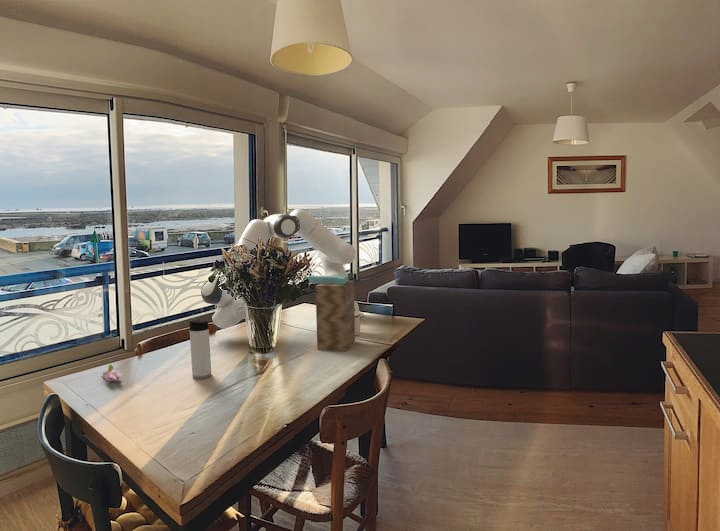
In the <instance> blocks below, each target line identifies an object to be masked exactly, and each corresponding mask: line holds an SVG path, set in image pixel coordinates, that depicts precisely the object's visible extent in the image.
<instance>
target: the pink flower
mask: <svg viewBox="0 0 720 531" xmlns="http://www.w3.org/2000/svg"><path fill="white" fill-rule="evenodd" d="M123 375H124V374H123V373H121V371H118V370H114V366H113V364H112V363H110V364H109V365H108V370H105V371H102V375H100V378H104V377H105V378H104V381H107V382H111V381H115V382H117V381H118V380H122V379H123Z"/></svg>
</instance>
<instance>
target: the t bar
mask: <svg viewBox="0 0 720 531" xmlns="http://www.w3.org/2000/svg"><path fill="white" fill-rule="evenodd" d="M305 276H306V277H304V278H303V280H305V279H308V280H309V283H308V284H320V283H326V284H337V285H344V284H346V283H347V282H348V280H349V275H348V276H344V275H342V276H325V275H309V276H310V277H307V276H308V275H305Z"/></svg>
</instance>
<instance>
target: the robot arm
mask: <svg viewBox="0 0 720 531" xmlns="http://www.w3.org/2000/svg"><path fill="white" fill-rule="evenodd" d="M295 234H297V235H298V236H299V237H300V238H301V239H302V240H303V241H305V242H306V243H307V244H308V245H309V246H311V248H314V250H316V251H317V252H316V253H317V256H318V257H319V258H320V261H321V264H322V267H323V272H324V276H342V275H344V276H348V277H349V275H348V273H347V272H346V270H345V267H344V266H345V265H348V264H351V263H353V262H354V261H355V259H356V257H357V253H356V249H355V246H353V245H352V244H350V243H349V242H347V241H345V240H344V239H343V238H341V237H340V236H338V235H337V234H335V233H334V232H332V231H330V230H329V229H328V228H327V227H325V226H324V225H323V224H322V223H321V222H320V221H318V219H316V218H315V217H314V216H313V215H312V214H310V213H309V212H307V211H305V210H304V209H301V208H296V209H293V210H292V211H291V212H290V213H289V214H285V213H271V214H269V215H266V216H265V217H264V218H262V219H259V218H256V219H252V220H250V222H249V223H248V225H247V226H246V227H245V229H244V231H243V232H242V234H241V236H240V238H239V240H238V242H237V243H236V244H235V246H236V245H238V246H239V245H242V244H245V245H246V246H247V247H248V248H249V249H250V250H251V249H254V248H256V246H255V245H257V244H258V238H259V237H261V238H262V242H263V243H264V244H265V243H266V244H267V242H268V241H269V239H271V238H275V237H276V238H275V239H289V238H291V237H293V236H294V235H295ZM266 244H265V245H266ZM230 251H231V248H229V249H228V250H227V252H230ZM221 261H223V258H222V259H221V260H220V262H221ZM217 274H218V271H217V270H215V269H214V271H213V273H212V274H211V276H212V275H217ZM219 278H220V276H217V277H216V279H215V282H214V283H210V282H209V281H208V280H206V281H205V282H204V283H203V285H202V288H201V290H200V293H201V298H202V301H203V302H205V303H206V304H209V305H213V306H216V309H215V311H214V314H212V316H211V319H212V323H213V324H214V325H215V326H216V327H218V328H220V329H223V330H225V329H228V328H231V327H233V326H234V325H236V324H238V323H239V322H240V321H241V320H245V319H247V317H246V313H245V306H244V301H243V300H242V299H237V300H235V299H234V298H233V297H232V296H231V295H230V294H227V292H226V291H222V290H221V289H220V288H219V286H218V285H219V284H220V281H219ZM354 310H355V311H356V312H359V313H360V318H361V317H363V316H365V315H364V314H365V313H363V311H362V312H361V311H360V307H359V304H358V303H357V302H356V301H355V300H354Z"/></svg>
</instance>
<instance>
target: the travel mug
mask: <svg viewBox="0 0 720 531" xmlns="http://www.w3.org/2000/svg"><path fill="white" fill-rule="evenodd" d="M188 324H189V341H190V343H189V344H190V355H191V356H190V357H191V371H192V375H191V376H192V378H193V379H195V380H203V379H208V378H210V377H211V376H212V360H211V344H210V340H211V339H210V328H209V327H210V326H209V320H200V319H199V320H197V319H196V320H190V321H189V322H188Z"/></svg>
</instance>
